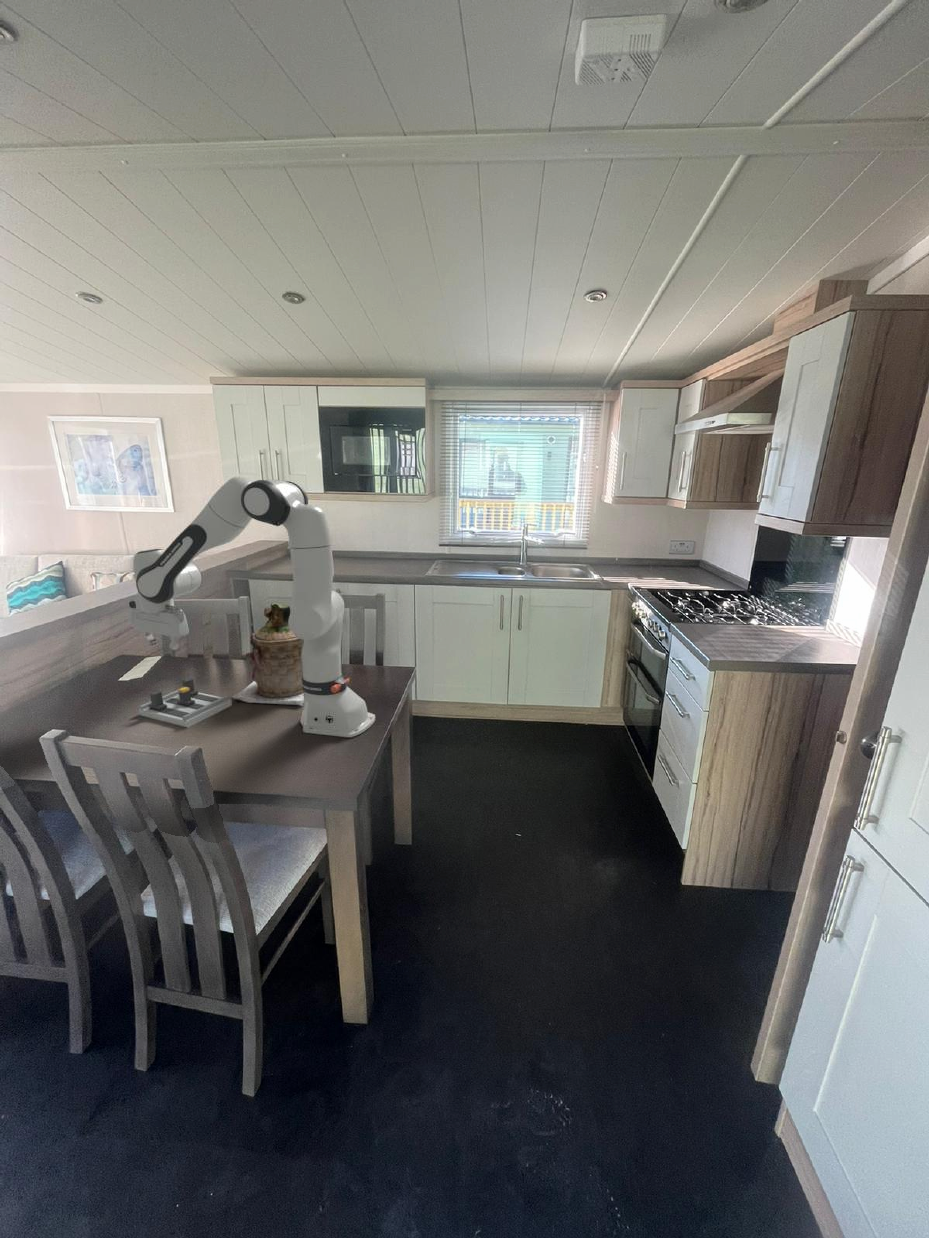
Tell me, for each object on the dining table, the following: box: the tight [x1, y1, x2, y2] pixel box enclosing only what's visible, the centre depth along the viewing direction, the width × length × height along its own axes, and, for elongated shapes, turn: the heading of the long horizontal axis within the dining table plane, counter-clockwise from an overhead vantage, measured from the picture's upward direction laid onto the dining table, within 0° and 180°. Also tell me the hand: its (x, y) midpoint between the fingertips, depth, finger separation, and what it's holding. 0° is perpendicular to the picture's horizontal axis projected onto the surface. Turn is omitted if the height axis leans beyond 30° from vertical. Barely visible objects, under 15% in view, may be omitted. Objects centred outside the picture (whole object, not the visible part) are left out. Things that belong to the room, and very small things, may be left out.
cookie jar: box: [232, 602, 304, 707], centre depth 160 cm, size 25×25×32 cm
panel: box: [138, 689, 233, 728], centre depth 148 cm, size 20×16×3 cm
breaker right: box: [182, 677, 199, 696], centre depth 153 cm, size 5×2×5 cm, turn 69°
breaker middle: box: [177, 687, 195, 706], centre depth 147 cm, size 5×2×5 cm, turn 69°
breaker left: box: [149, 690, 167, 710], centre depth 143 cm, size 5×2×5 cm, turn 69°
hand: (162, 646), depth 145 cm, fingers open, 8 cm apart
